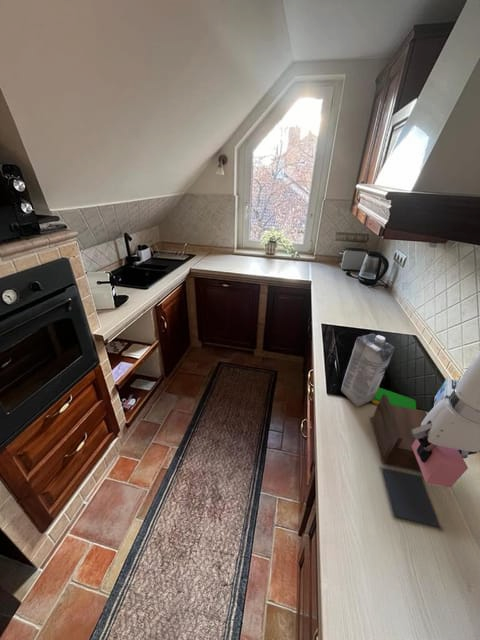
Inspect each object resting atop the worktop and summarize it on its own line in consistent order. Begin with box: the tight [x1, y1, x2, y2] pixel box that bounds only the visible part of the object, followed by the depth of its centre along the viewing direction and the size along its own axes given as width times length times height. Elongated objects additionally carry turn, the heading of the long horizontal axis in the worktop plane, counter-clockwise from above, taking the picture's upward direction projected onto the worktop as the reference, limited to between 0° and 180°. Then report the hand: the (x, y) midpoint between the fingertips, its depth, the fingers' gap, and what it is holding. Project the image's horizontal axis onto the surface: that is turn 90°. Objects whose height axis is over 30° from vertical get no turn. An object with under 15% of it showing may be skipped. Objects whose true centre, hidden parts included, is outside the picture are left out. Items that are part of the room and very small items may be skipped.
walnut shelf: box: [371, 394, 428, 472], centre depth 77 cm, size 14×16×12 cm
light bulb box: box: [433, 377, 459, 407], centre depth 89 cm, size 11×7×11 cm, turn 144°
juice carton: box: [340, 332, 396, 407], centre depth 90 cm, size 9×10×27 cm
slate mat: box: [382, 468, 440, 528], centre depth 67 cm, size 10×12×1 cm
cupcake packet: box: [412, 435, 469, 489], centre depth 58 cm, size 5×9×8 cm, turn 168°
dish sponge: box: [370, 386, 417, 409], centre depth 94 cm, size 7×14×2 cm, turn 60°
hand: (434, 458), depth 59 cm, fingers closed on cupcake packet, 5 cm apart
